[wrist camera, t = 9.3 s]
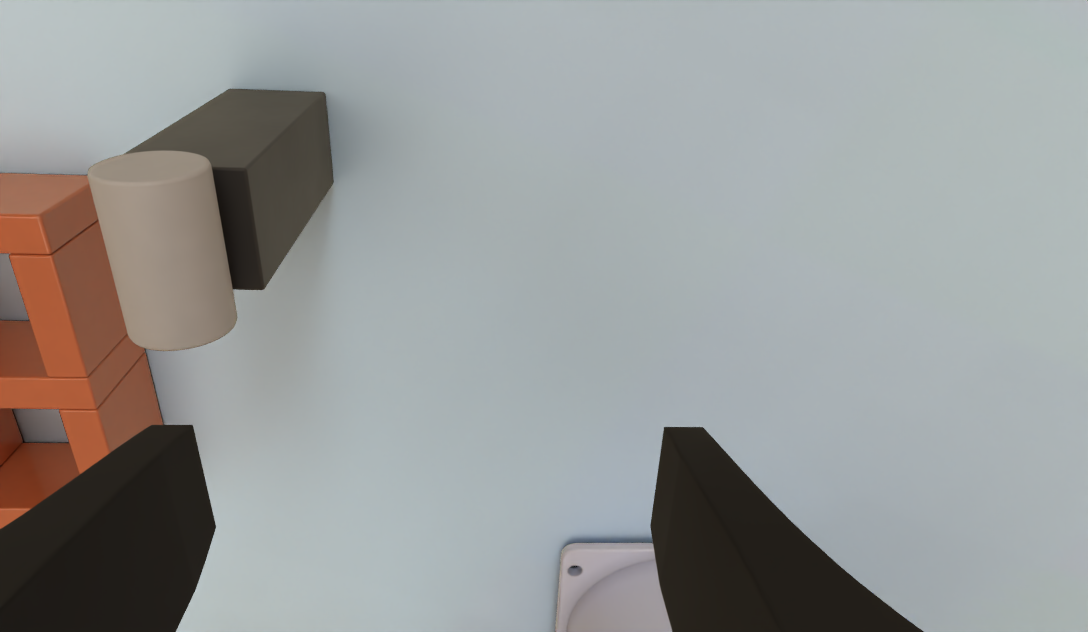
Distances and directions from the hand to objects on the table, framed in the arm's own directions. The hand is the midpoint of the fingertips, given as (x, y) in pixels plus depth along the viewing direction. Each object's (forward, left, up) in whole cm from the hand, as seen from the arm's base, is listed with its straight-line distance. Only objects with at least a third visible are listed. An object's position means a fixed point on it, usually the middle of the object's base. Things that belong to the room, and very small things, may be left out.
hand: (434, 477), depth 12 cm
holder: (-4, +12, -10) cm, 16 cm away
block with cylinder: (+3, +5, -10) cm, 12 cm away
